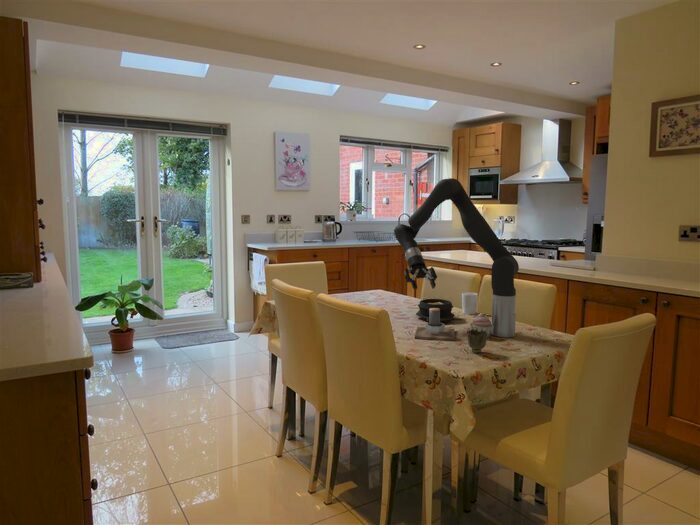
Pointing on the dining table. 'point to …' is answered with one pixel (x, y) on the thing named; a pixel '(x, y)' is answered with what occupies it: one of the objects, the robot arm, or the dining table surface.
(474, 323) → the cupcake
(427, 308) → the casserole
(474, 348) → the cup
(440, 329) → the grey octagonal sleeve
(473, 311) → the white cup
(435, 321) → the grey cylinder tan top
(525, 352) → the dining table surface
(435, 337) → the board
